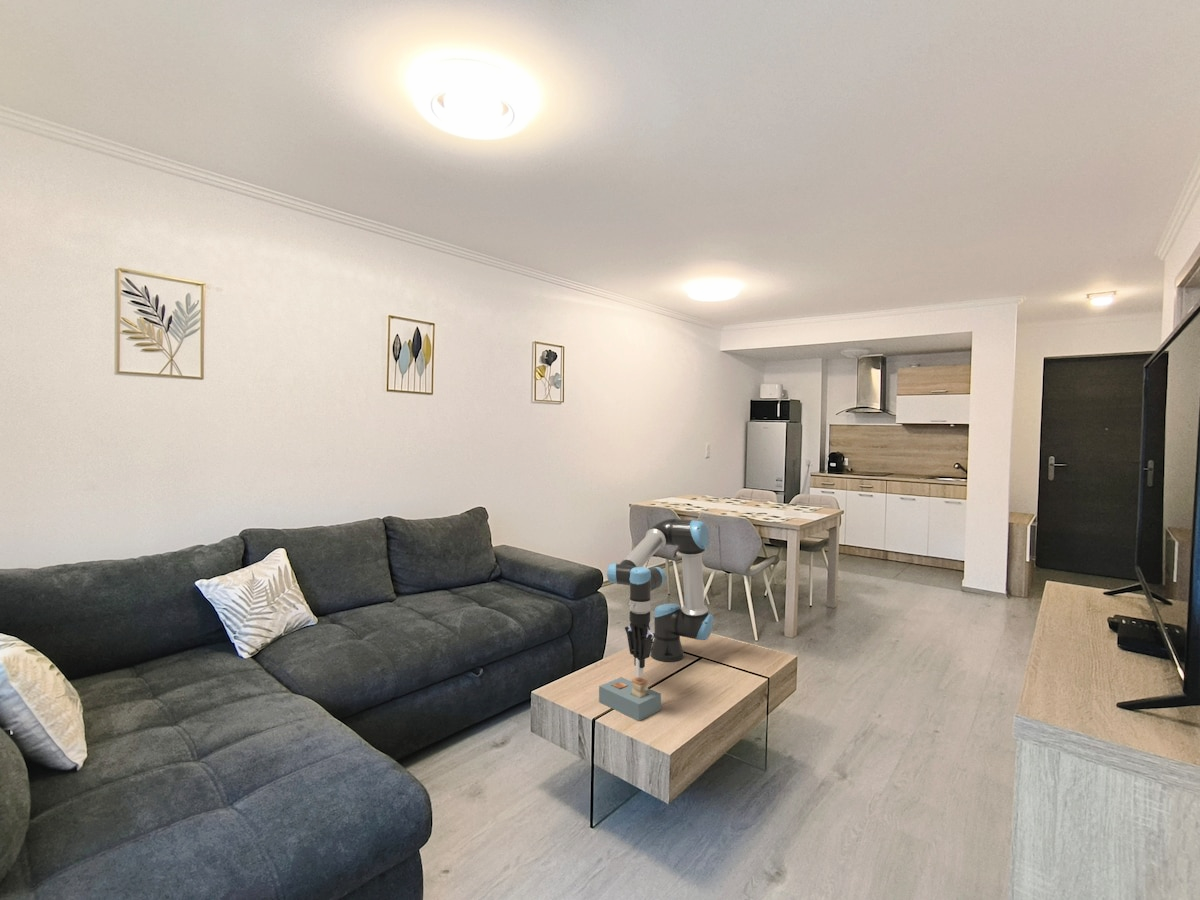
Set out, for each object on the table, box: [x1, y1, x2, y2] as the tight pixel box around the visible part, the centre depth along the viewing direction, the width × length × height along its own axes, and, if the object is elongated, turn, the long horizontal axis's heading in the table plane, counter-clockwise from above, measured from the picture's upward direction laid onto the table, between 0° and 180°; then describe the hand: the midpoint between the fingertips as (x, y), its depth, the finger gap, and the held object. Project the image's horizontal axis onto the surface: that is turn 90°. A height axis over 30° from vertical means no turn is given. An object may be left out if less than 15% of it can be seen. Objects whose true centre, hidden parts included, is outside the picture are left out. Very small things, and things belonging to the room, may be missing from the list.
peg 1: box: [612, 682, 627, 689], centre depth 211 cm, size 4×4×6 cm
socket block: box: [598, 676, 662, 722], centre depth 207 cm, size 12×20×6 cm, turn 44°
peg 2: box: [631, 677, 649, 698], centre depth 203 cm, size 4×4×6 cm
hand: (639, 675), depth 203 cm, fingers closed
